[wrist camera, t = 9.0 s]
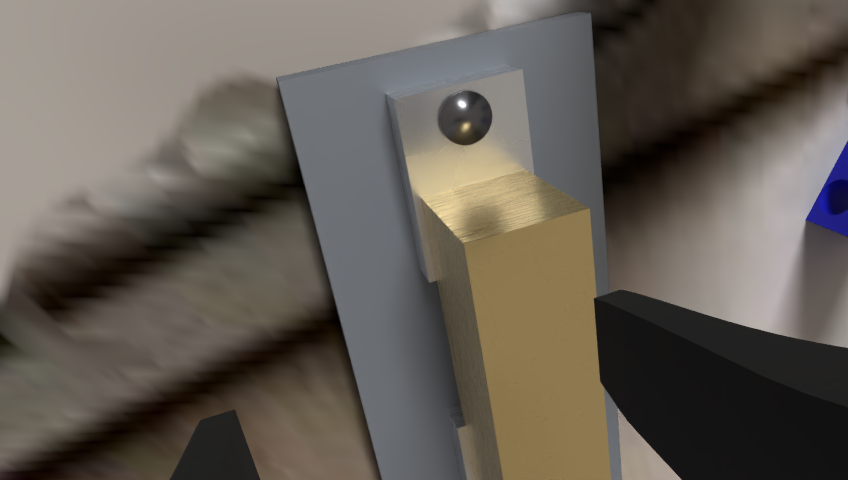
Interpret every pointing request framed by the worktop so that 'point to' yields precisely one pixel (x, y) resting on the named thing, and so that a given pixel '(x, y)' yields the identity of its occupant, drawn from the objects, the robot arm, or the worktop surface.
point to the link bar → (522, 327)
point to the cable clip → (833, 199)
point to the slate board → (390, 224)
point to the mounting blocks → (458, 157)
